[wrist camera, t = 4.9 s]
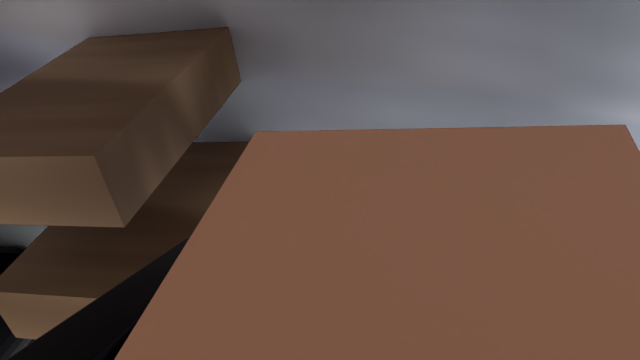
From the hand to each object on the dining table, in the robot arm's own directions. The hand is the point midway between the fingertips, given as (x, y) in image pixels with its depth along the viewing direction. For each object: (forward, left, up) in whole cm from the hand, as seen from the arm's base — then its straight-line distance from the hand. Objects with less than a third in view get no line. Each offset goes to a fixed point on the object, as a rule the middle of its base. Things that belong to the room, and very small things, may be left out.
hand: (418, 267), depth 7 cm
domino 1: (-1, +10, -12) cm, 15 cm away
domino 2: (-6, +10, -12) cm, 16 cm away
